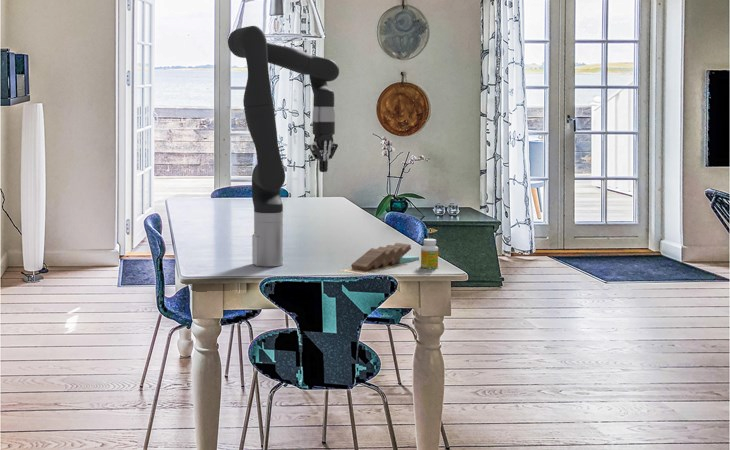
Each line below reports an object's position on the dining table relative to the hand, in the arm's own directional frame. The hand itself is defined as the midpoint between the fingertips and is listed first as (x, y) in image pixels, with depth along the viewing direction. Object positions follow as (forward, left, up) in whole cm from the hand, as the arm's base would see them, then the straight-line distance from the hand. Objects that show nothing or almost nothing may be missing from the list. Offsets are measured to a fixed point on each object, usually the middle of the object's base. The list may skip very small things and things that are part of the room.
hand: (323, 171), depth 288 cm
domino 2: (+4, -30, -28) cm, 41 cm away
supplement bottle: (+24, -34, -29) cm, 51 cm away
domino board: (+7, -29, -29) cm, 41 cm away
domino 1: (+1, -32, -28) cm, 42 cm away
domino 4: (+12, -26, -27) cm, 39 cm away
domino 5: (+16, -24, -27) cm, 39 cm away
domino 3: (+8, -28, -28) cm, 40 cm away
